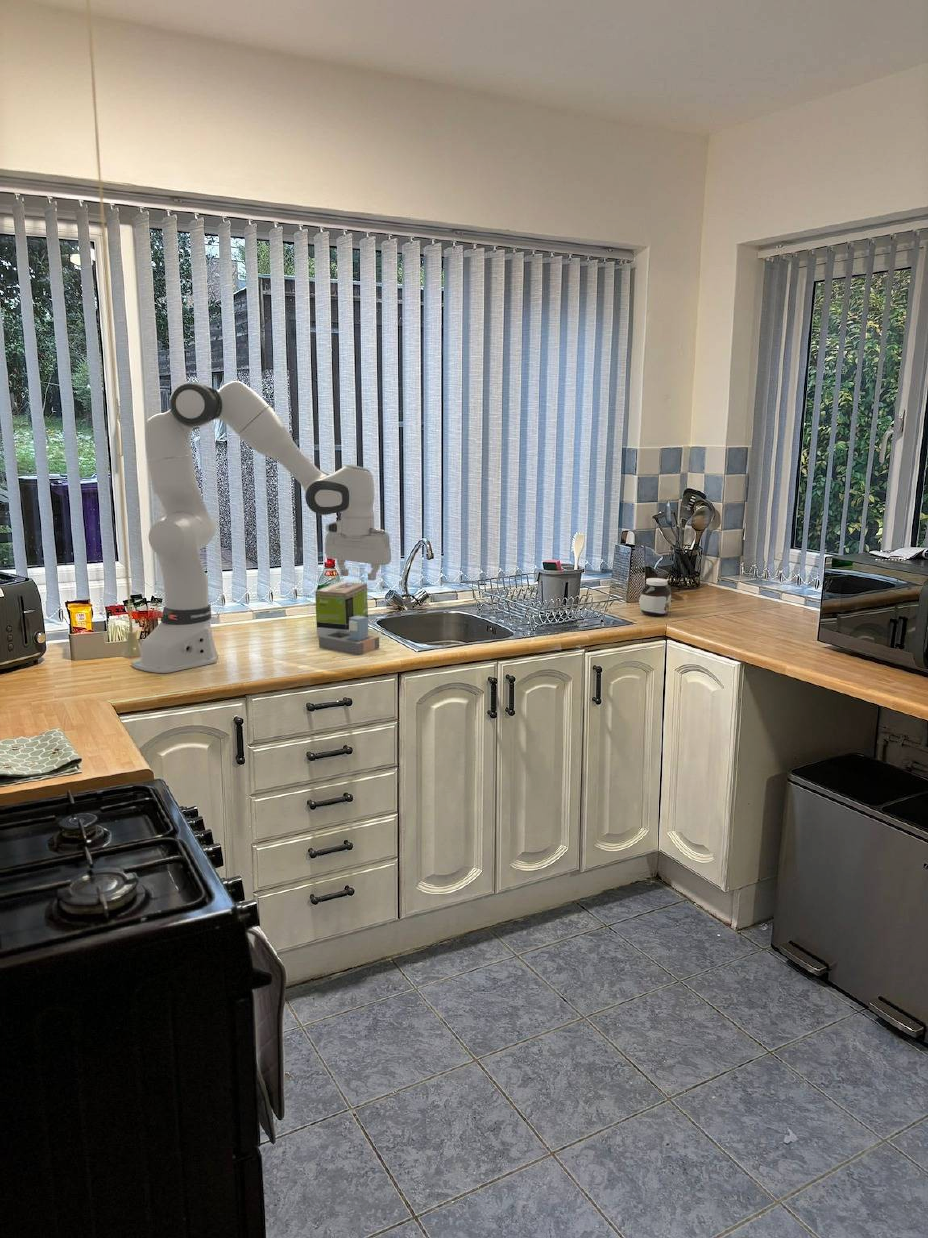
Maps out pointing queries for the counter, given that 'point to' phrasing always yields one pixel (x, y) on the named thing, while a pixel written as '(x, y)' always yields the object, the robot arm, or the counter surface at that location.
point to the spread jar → (655, 597)
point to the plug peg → (358, 628)
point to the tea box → (339, 606)
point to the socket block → (348, 643)
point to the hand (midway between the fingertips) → (358, 577)
